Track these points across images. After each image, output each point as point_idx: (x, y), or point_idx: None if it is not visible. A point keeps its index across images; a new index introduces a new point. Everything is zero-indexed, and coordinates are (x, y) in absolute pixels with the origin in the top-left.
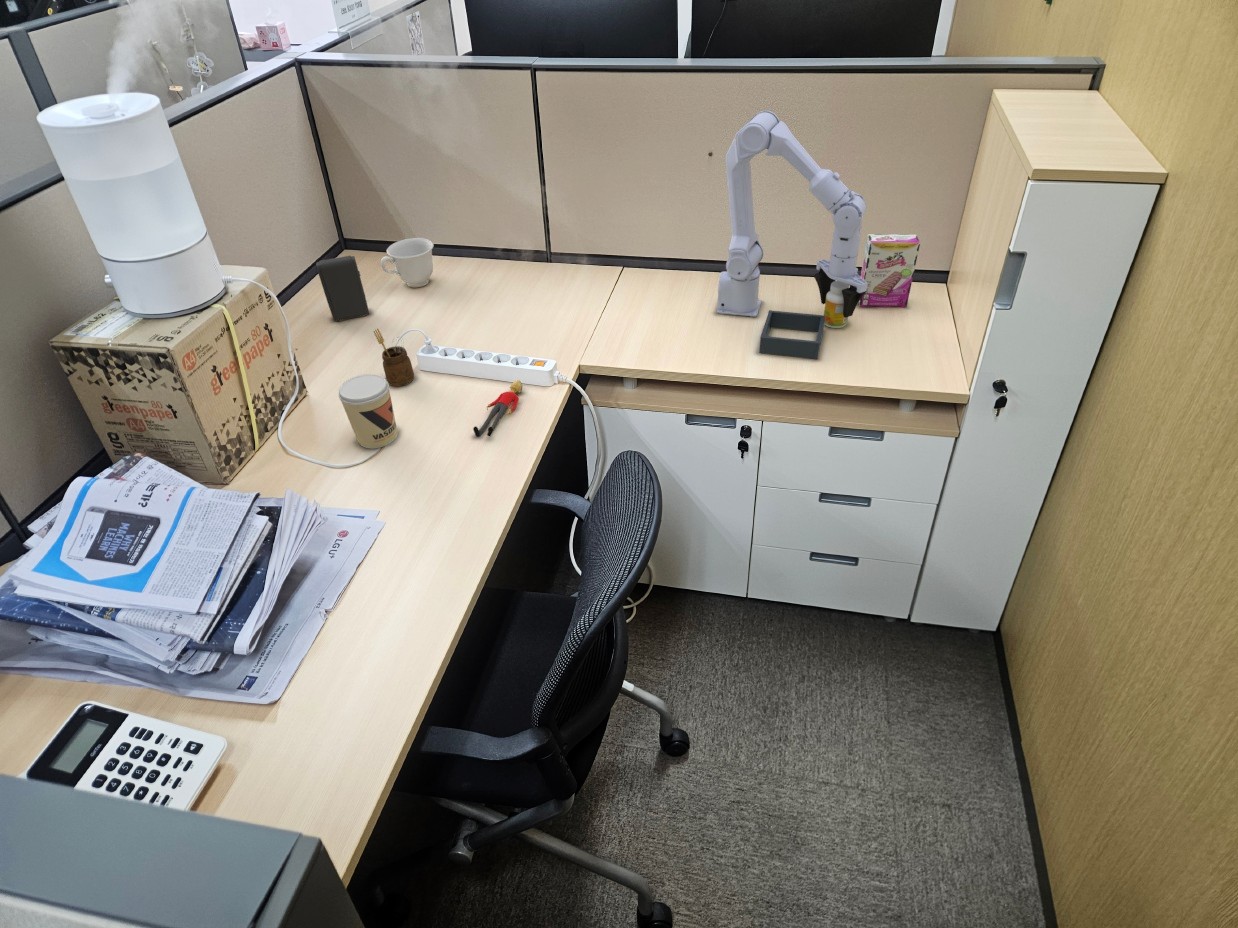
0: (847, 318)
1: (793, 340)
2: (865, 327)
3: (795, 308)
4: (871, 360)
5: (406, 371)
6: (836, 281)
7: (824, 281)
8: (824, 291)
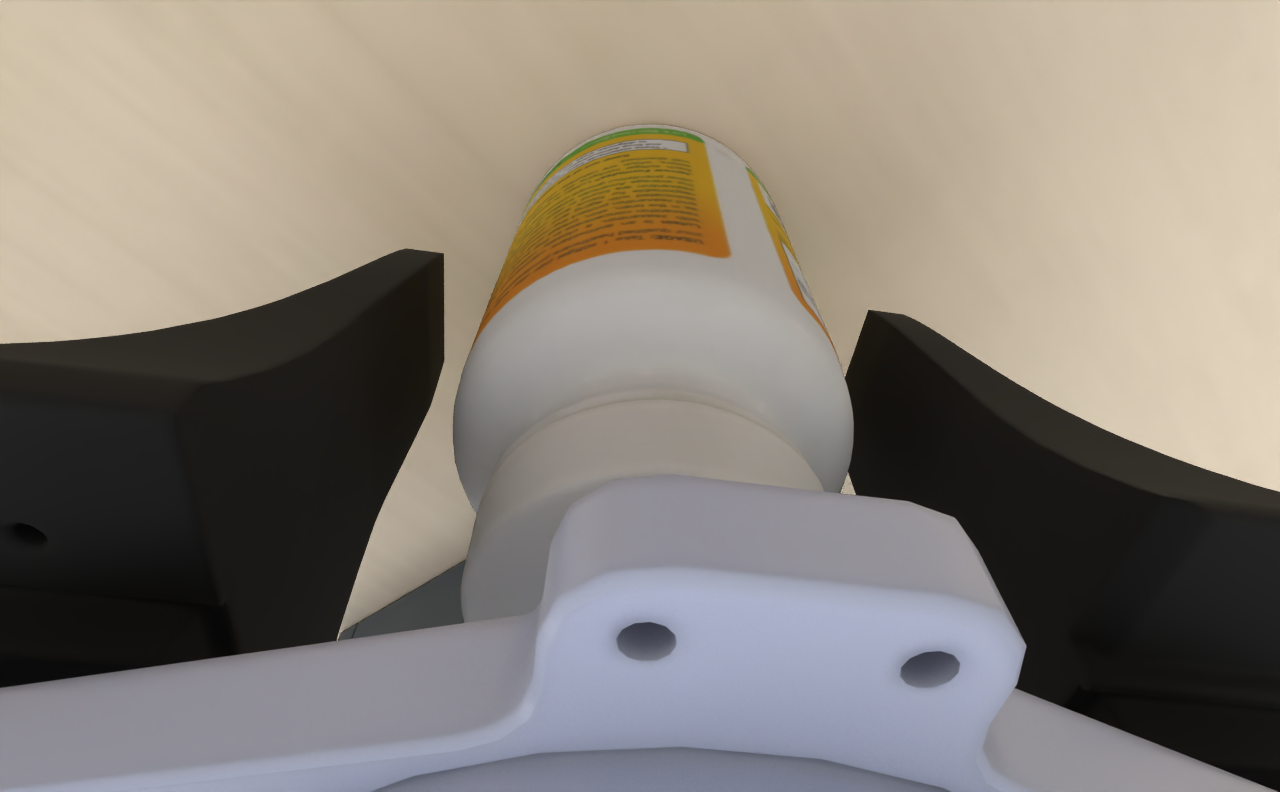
0: (780, 220)
1: None
2: (970, 58)
3: (155, 308)
4: (1272, 487)
5: None
6: (493, 583)
7: (310, 641)
8: (375, 466)
